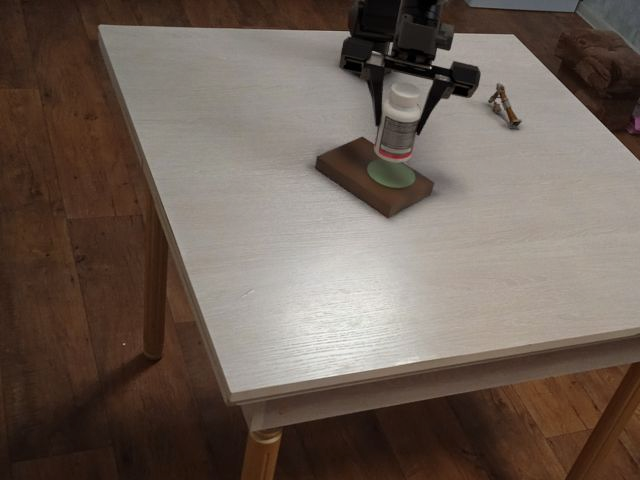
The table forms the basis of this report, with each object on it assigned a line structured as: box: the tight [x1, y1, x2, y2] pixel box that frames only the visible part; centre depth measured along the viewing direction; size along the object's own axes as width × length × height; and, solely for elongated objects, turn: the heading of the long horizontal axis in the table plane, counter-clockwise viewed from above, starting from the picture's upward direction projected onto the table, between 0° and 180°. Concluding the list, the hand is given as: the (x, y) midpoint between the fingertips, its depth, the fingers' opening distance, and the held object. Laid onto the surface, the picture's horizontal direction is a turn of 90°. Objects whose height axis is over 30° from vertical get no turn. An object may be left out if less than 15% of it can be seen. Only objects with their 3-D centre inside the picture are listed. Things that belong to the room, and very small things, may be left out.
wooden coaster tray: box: [314, 136, 435, 218], centre depth 118 cm, size 10×14×2 cm
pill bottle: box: [374, 81, 422, 163], centre depth 112 cm, size 5×5×10 cm
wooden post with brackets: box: [487, 82, 523, 129], centre depth 140 cm, size 2×8×4 cm, turn 30°
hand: (397, 130), depth 111 cm, fingers closed on pill bottle, 5 cm apart
